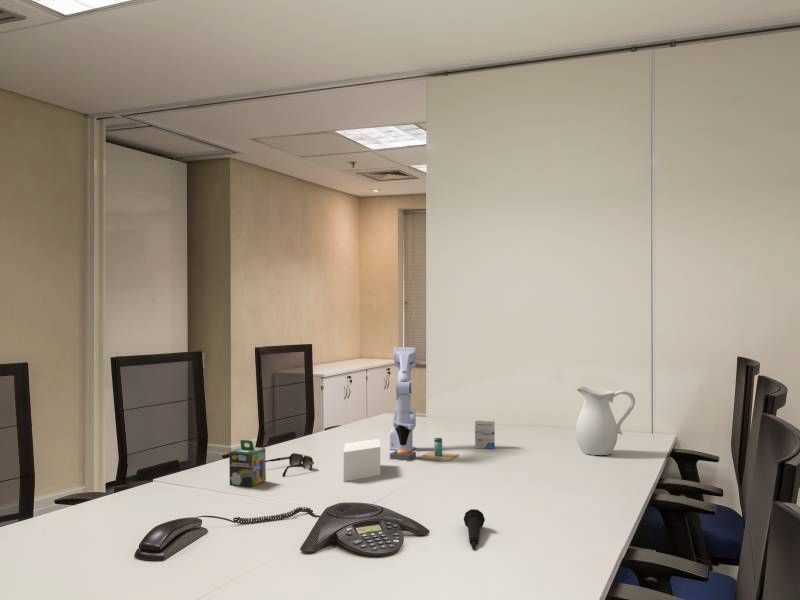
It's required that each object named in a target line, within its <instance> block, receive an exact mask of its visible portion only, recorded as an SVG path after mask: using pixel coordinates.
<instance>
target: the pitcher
mask: <svg viewBox="0 0 800 600" xmlns="http://www.w3.org/2000/svg"><path fill="white" fill-rule="evenodd" d="M576 390H577V392H579V393H580V394H581V395H582V397H583V404H582V408H581V410H580V413H579V415H578V417H577V421H576V426H575V438H576V443H577V444H578V447H579V449H580V451H581V452H582V453H583V454H584V453H585V454H584V455H587V454H591V455H590V456H592V455H607V456H610V455H611V454H612V452H614V449H615V447H616V444H617V442H618V434H619V435H623V432H622V430H621V427H622V424H623V422H624V421H625V420H626V419H627V417H628V416H629V415H630V414H631V412H632V411H633V410H634V407H635V404H636V400H635V395H634V394H633V393H632V392H631V391H629V390H626V389H621V390H618V391H616V392H615V391H611V390H607V391H596V390H593V389H591V388H589V387H587V386H579V387H577V388H576ZM619 395H626V396H628V397H629V398H630V405H629V407H628V409H627V411H626V412H625V413H624V414H623V415H622V417H621V418H620V419H619V420H618V422H617V423H616V419H615V416H614V414H613V412H612V409H611V405H610V403H611V404H612V403H614V398H616V397H617V396H619ZM609 454H610V455H609Z"/></svg>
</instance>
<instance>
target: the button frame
mask: <svg viewBox="0 0 800 600" xmlns="http://www.w3.org/2000/svg"><path fill="white" fill-rule="evenodd" d="M414 457H415V458H417V452H416V451H414V450H413V451H412V450H410V451H409V454H407V455H405V454H397V450H394V451H392V452H390V453H389V460H394V459H397V460H396V461H403V460H407V461H406V462H409V461H411V460H413V459H415V458H414ZM412 458H413V459H412ZM410 459H411V460H410Z"/></svg>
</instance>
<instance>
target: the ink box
mask: <svg viewBox="0 0 800 600" xmlns="http://www.w3.org/2000/svg"><path fill="white" fill-rule="evenodd" d="M474 423H475V425H474V448H475V449H493V448H494V449H495V448H496V447H495V445H496V444H495V442H496V441H495V439H496V437H495V432H496V431H495V426H496V425H495V420H490V419H489V420H487V419H486V420H483V419H482V420H481V419H475V421H474Z"/></svg>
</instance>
